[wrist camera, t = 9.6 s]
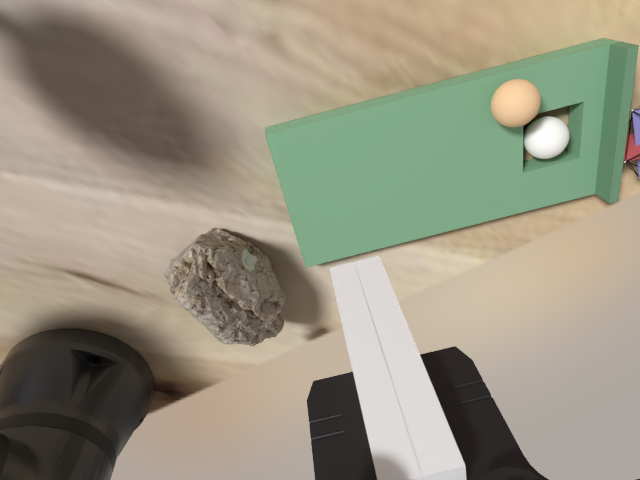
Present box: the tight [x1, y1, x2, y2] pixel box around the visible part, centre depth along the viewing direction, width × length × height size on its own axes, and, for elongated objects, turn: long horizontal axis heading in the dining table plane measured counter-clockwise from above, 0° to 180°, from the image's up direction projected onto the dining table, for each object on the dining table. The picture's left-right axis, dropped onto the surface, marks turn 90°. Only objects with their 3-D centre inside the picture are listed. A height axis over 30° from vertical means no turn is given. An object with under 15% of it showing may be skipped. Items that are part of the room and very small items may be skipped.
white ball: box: [523, 116, 570, 159], centre depth 38 cm, size 4×4×4 cm
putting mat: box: [265, 38, 639, 267], centre depth 38 cm, size 28×13×4 cm, turn 103°
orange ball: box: [491, 79, 541, 127], centre depth 34 cm, size 4×4×4 cm
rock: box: [164, 228, 287, 346], centre depth 40 cm, size 14×10×8 cm
